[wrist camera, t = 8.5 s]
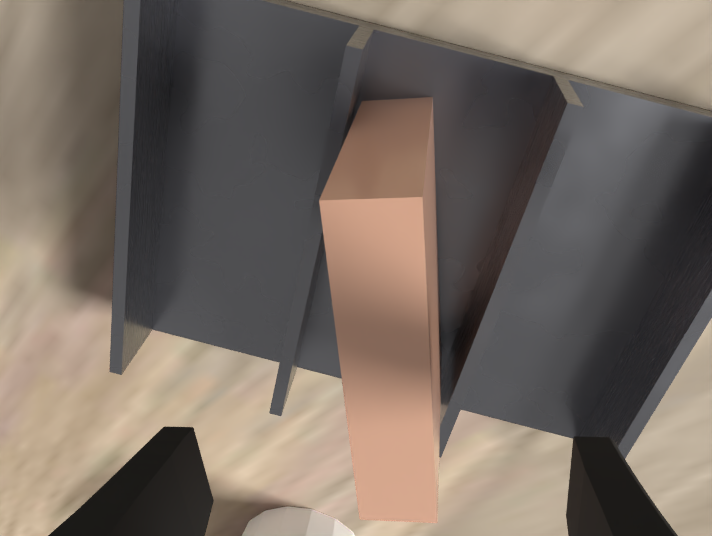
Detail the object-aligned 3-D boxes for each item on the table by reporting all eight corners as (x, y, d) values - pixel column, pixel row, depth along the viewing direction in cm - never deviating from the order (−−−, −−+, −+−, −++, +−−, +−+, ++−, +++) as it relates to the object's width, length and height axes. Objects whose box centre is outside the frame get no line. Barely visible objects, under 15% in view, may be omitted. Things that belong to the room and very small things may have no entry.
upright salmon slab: (432, 97, 19) (422, 197, 13) (441, 356, 23) (437, 522, 17) (361, 101, 19) (318, 200, 13) (384, 356, 23) (359, 519, 17)
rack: (749, 121, 19) (805, 164, 16) (583, 426, 25) (600, 498, 22) (176, -28, 19) (124, -13, 16) (150, 314, 25) (109, 371, 22)
